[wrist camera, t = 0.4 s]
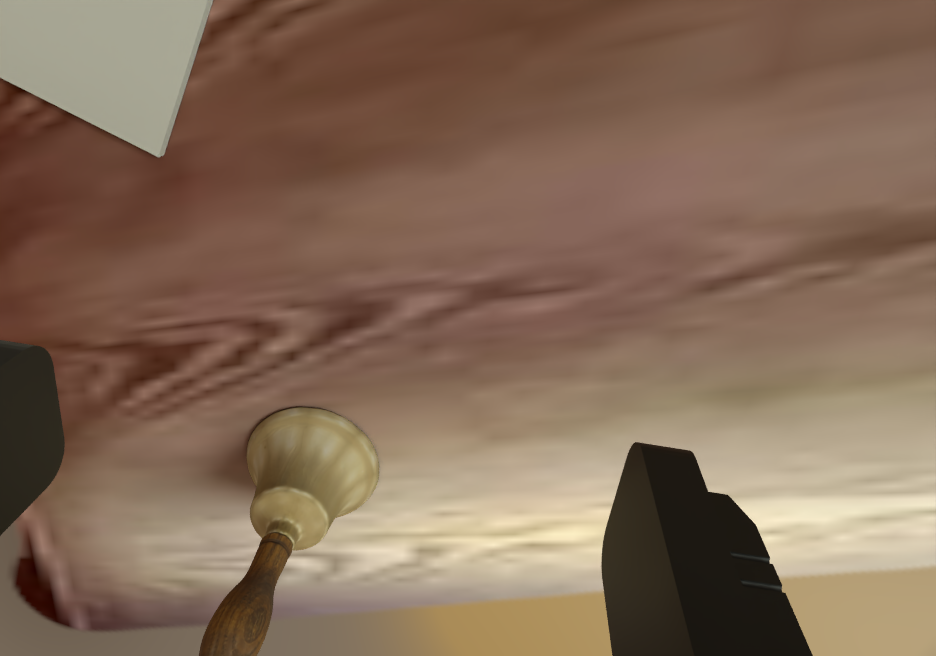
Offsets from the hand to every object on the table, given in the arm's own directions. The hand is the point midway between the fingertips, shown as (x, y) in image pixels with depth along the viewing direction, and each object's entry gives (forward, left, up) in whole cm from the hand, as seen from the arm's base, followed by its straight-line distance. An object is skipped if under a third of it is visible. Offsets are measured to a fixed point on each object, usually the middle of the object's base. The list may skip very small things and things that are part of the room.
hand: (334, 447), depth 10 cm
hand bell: (+22, +1, -27) cm, 35 cm away
